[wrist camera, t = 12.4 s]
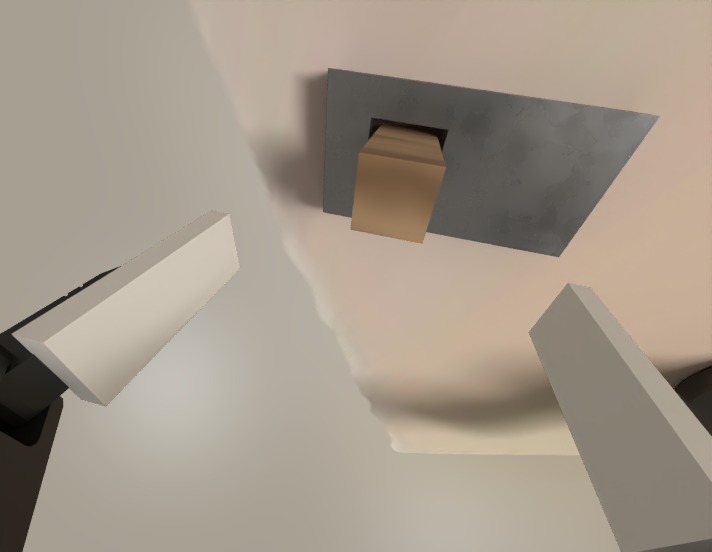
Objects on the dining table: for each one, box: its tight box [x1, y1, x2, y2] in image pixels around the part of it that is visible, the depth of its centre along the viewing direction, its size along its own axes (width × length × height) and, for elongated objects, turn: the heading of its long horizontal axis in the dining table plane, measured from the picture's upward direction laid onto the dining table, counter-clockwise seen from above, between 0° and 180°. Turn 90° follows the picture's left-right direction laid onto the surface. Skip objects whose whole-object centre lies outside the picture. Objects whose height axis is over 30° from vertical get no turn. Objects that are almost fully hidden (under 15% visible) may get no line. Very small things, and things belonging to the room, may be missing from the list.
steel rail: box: [323, 68, 660, 257], centre depth 24 cm, size 12×24×3 cm, turn 84°
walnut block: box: [351, 124, 446, 243], centre depth 21 cm, size 5×5×12 cm
